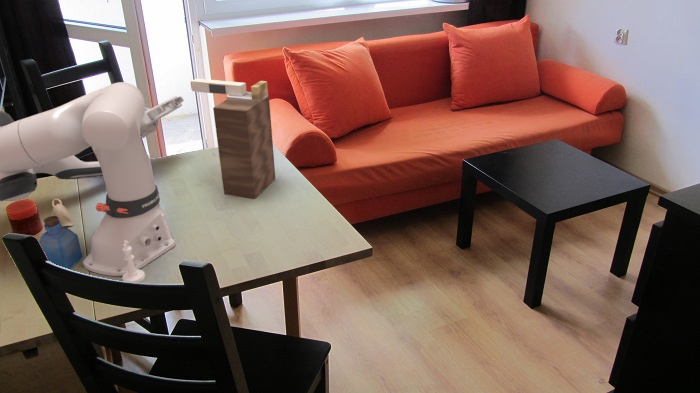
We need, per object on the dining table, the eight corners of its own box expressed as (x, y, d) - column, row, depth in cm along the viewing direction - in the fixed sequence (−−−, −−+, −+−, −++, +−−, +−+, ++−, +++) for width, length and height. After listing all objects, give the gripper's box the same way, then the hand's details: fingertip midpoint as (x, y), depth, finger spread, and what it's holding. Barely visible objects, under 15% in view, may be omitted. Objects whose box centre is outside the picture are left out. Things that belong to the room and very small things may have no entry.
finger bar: (241, 96, 159) (239, 86, 158) (190, 91, 164) (189, 81, 162) (246, 93, 162) (245, 82, 161) (196, 88, 167) (195, 78, 165)
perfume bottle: (59, 254, 138) (46, 211, 133) (83, 256, 138) (71, 213, 132) (44, 269, 133) (30, 225, 127) (68, 271, 132) (55, 227, 127)
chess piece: (148, 272, 132) (140, 235, 127) (139, 284, 127) (131, 247, 123) (128, 271, 132) (119, 234, 127) (118, 283, 128) (109, 246, 123)
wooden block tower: (254, 198, 163) (244, 95, 149) (224, 194, 166) (211, 92, 151) (275, 178, 175) (267, 80, 160) (246, 174, 178) (236, 78, 163)
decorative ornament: (57, 230, 149) (51, 212, 146) (54, 216, 155) (49, 199, 153) (73, 226, 150) (68, 208, 148) (70, 212, 157) (65, 195, 154)
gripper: (168, 119, 186) (197, 102, 180) (128, 141, 169) (158, 123, 163) (157, 102, 185) (185, 84, 178) (115, 123, 168) (145, 104, 161)
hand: (172, 103), depth 170 cm, fingers open, 8 cm apart
